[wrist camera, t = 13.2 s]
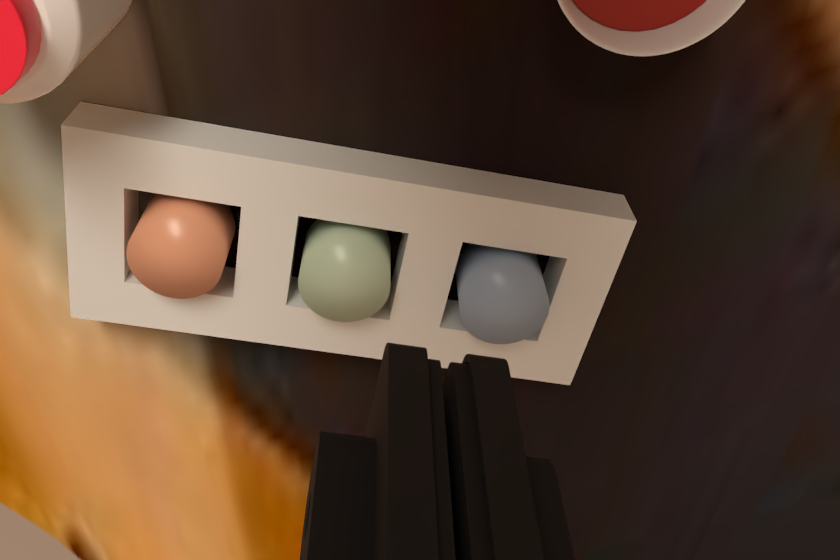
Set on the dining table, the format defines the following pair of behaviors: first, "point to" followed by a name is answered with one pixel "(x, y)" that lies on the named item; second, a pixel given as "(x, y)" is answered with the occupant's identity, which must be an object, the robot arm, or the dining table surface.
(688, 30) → the candle
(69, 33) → the pill bottle
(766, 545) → the dining table surface
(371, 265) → the button sage
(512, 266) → the button slate
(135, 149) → the console
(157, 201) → the button terracotta
